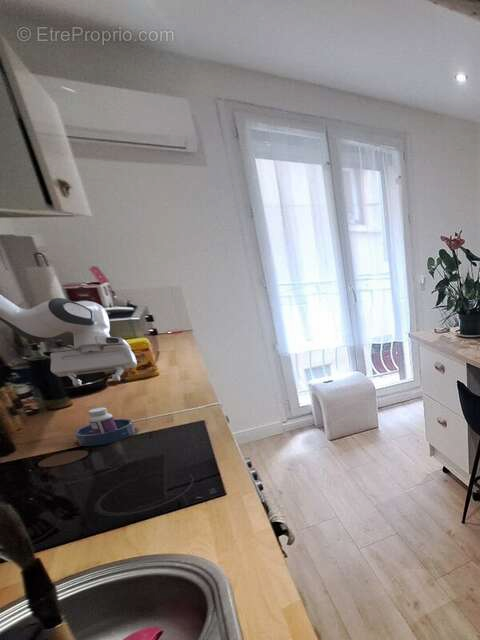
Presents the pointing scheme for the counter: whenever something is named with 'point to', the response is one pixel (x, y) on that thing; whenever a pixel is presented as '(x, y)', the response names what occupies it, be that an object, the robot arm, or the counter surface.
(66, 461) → the coaster
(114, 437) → the bowl
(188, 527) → the counter surface
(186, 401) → the counter surface
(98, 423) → the pill bottle
